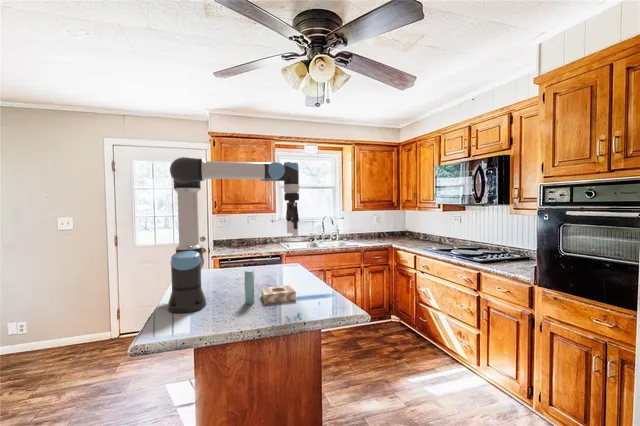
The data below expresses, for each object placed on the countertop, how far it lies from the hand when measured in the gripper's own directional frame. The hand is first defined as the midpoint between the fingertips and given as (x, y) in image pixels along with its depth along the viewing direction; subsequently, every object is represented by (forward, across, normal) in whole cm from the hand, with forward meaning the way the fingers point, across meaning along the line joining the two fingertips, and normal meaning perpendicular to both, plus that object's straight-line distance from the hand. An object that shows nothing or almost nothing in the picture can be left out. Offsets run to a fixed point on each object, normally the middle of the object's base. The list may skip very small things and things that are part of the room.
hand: (292, 234), depth 162 cm
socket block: (+28, -14, +10) cm, 33 cm away
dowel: (+28, -16, +23) cm, 40 cm away
